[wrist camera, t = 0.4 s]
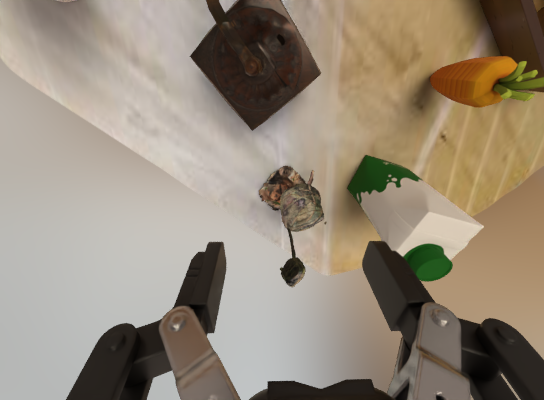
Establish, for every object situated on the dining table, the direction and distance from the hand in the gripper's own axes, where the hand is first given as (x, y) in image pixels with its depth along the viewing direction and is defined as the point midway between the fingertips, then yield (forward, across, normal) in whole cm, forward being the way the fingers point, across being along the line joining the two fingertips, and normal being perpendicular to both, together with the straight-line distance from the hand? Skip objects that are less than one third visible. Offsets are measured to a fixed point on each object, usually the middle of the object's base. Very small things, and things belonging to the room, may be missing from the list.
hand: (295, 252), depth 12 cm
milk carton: (+28, -18, +9) cm, 35 cm away
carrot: (+28, -23, -7) cm, 37 cm away
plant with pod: (+28, -2, +11) cm, 30 cm away
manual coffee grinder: (+28, +4, -11) cm, 30 cm away
